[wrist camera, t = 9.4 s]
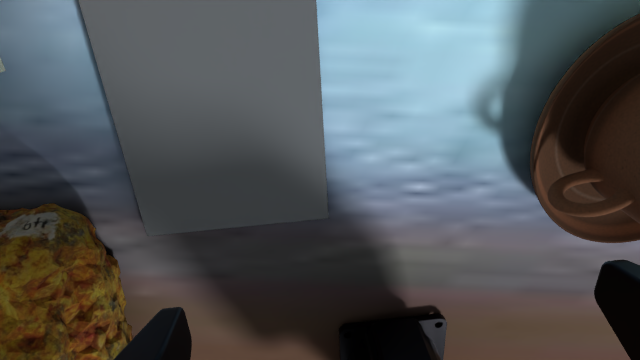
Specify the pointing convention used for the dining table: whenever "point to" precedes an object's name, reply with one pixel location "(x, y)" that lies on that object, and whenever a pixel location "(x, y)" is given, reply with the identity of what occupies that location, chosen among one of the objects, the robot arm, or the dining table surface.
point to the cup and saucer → (593, 142)
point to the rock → (58, 288)
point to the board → (1, 66)
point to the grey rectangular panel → (215, 108)
